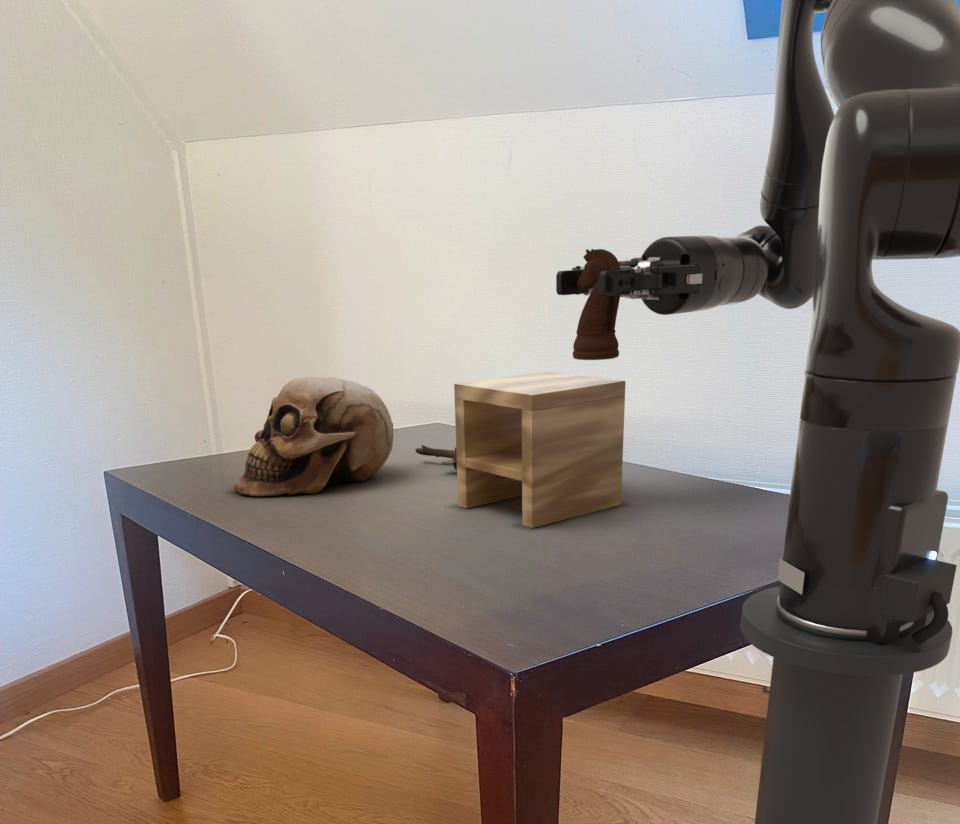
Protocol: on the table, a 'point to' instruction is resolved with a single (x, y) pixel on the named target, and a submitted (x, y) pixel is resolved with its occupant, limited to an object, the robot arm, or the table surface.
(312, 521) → the table surface
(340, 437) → the tan skull
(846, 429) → the robot arm
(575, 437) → the stand
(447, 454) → the tree branch
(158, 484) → the table surface
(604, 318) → the chess piece
